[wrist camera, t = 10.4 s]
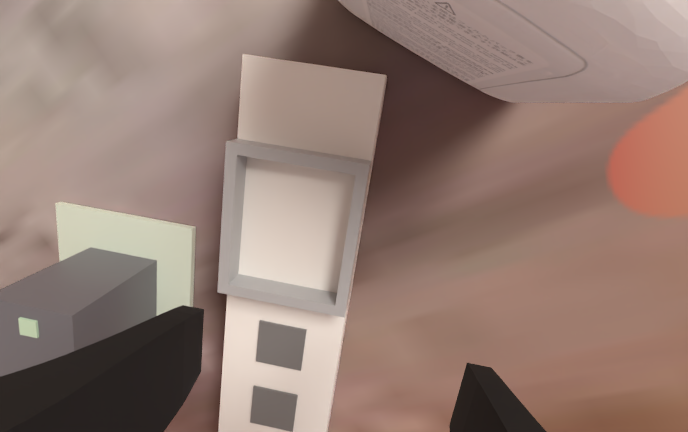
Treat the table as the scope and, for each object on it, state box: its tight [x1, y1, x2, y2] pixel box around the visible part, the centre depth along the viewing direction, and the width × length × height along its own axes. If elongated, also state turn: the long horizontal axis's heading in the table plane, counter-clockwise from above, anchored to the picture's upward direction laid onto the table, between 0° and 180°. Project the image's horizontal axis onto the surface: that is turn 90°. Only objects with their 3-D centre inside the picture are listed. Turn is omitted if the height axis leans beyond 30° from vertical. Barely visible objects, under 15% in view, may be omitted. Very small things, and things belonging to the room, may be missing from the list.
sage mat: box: [55, 202, 196, 316], centre depth 23 cm, size 10×8×1 cm
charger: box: [0, 247, 157, 377], centre depth 20 cm, size 5×4×6 cm
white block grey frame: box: [217, 54, 387, 432], centre depth 20 cm, size 22×6×4 cm, turn 171°
